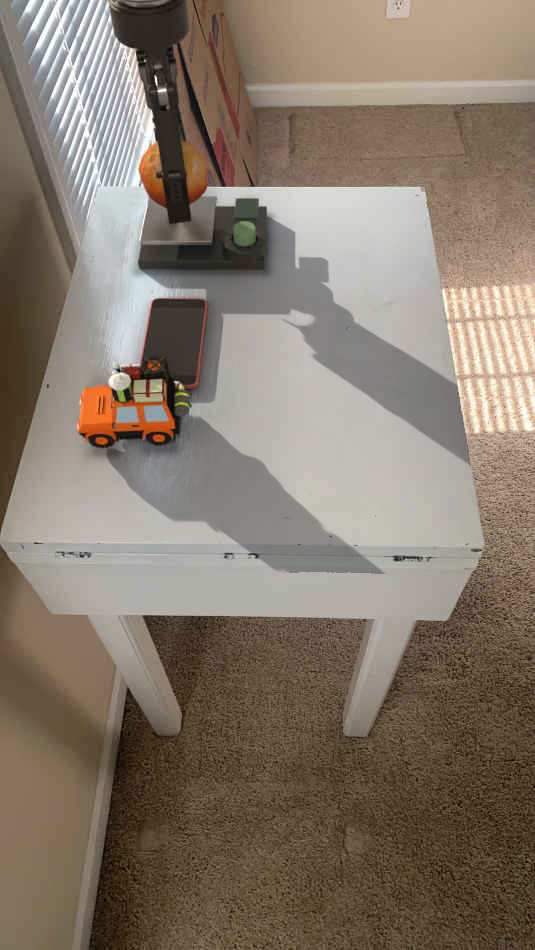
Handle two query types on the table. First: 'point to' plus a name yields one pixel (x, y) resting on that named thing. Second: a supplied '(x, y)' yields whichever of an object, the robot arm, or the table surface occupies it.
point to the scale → (212, 248)
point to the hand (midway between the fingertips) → (176, 198)
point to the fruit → (192, 166)
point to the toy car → (134, 405)
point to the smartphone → (177, 336)
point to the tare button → (244, 233)
